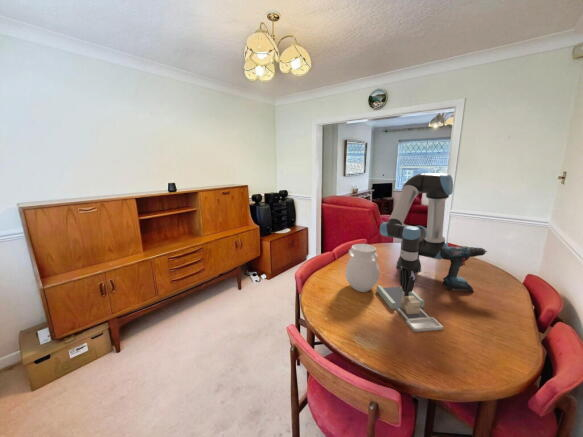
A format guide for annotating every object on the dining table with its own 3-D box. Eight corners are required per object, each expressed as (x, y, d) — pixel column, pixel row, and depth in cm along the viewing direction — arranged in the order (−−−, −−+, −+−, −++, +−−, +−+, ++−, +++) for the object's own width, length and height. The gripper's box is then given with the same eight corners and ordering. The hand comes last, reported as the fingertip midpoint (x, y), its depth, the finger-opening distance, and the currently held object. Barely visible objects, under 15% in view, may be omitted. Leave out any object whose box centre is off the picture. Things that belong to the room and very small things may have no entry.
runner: (378, 288, 144) (378, 287, 143) (399, 287, 144) (399, 286, 144) (405, 321, 114) (405, 319, 114) (431, 319, 115) (432, 317, 115)
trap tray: (405, 321, 114) (405, 318, 114) (432, 319, 115) (433, 316, 114) (414, 331, 107) (414, 328, 107) (442, 329, 108) (443, 326, 108)
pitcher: (383, 286, 145) (386, 246, 140) (369, 299, 132) (371, 255, 127) (354, 277, 158) (356, 240, 152) (339, 288, 145) (340, 247, 139)
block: (400, 307, 124) (401, 296, 123) (412, 306, 125) (413, 295, 124) (407, 314, 119) (408, 303, 117) (419, 313, 119) (420, 302, 118)
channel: (376, 291, 141) (377, 285, 140) (404, 289, 142) (405, 283, 141) (391, 309, 124) (392, 303, 123) (423, 307, 125) (424, 300, 124)
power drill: (485, 293, 136) (492, 250, 130) (439, 289, 141) (444, 248, 135) (477, 285, 144) (483, 244, 139) (433, 282, 149) (438, 243, 143)
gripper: (395, 253, 127) (391, 295, 132) (408, 263, 114) (403, 309, 120) (409, 253, 127) (405, 294, 133) (424, 263, 115) (418, 308, 120)
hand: (404, 301), depth 126 cm, fingers closed
